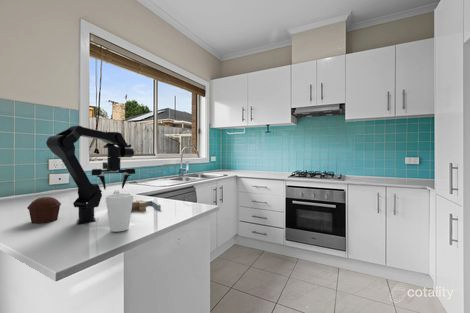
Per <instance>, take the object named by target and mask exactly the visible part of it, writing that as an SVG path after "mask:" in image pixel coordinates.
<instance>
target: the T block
mask: <svg viewBox="0 0 470 313" xmlns="http://www.w3.org/2000/svg"><path fill="white" fill-rule="evenodd" d="M144 201H145V200H143V199H137V200H136V201H133V202H132V209H131V212H136V211H139V212H146V211H147V206H146V202H144Z"/></svg>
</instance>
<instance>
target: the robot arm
mask: <svg viewBox="0 0 470 313" xmlns="http://www.w3.org/2000/svg"><path fill="white" fill-rule="evenodd" d="M81 137H84V138H89V139H93V140H100V141H102V142H104V143H105V145H104V146H103V148H104V149H107V150H106V151H107V154H106V155H107V157H106V158H107V161H106V162H105V161H104V162H102V168H92V169H91V171H90V176H96V178H99V179H100V182H101V184H102V186H103V190H105V191H106V187H107V186H106V179H105V175H104V174H108V175H109V174H122V182H121V189H124V187H125V184H126V182H127V180H128V178H129V177H130V176H132V175H136V169H135V168H133V167H125V169H121V159H122V158H133V157H134V154H135V150H134V148H133V147H132V145H131V144H127V142H126V140H125V138H124V136H123V134H122V133H121V132H120V131H104V130H103V131H102V130H99V129H93V128H89V127H84V126H82V125H71V126H70V127H68V128H66V129H65V130H62V131H61V132H59V133H57V134H56V135H50V136H49V137H48V138H47V140H46V142H45V144H46V146H47V148H48V149H49V150H50V151H51V152H52V153H53V155H55V156H57V157H58V158H60V160H61V161H62V163H63V165H64V166H65V168H66V170H67V171H68V174H69V175H70V176H71V178H72V179H73V181H74V183H75V185H76V187H77V195H78V196H77V197H76V199H75V201H74V202H72V204H73V207H74V208H78V219H77V222H76V224H77V225H80V224H88V223H93V222H94V223H95V222H96V217H95V208H99V207H100V202H101V199H102V197H103V193H102V192H103V190H102V189H101V188H100V186H99V184H96V183H92V182H91V181H90V179H89V177H88V176H87V174H86V171H85V170H84V169H83V166H82V165H81V163H80V161H79V159H78V158H77V156H76V154H75V153H76V146H75V143H76V142H78V141H79V139H80V138H81Z"/></svg>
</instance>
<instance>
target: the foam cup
mask: <svg viewBox="0 0 470 313" xmlns="http://www.w3.org/2000/svg"><path fill="white" fill-rule="evenodd" d="M132 202H134V194H133V193H129V192H128V193H119V194H114V193H112V194H107V195H105V203H106V210H107V216H108V223H109V228H110V232H116V233H117V232H124V231H126V230H128V229H129V227H130V222H131V215H132V211H131V209H132Z"/></svg>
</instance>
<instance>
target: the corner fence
mask: <svg viewBox="0 0 470 313" xmlns="http://www.w3.org/2000/svg"><path fill="white" fill-rule="evenodd" d="M143 201H144V202H146V207H147V206H151V207H153V208H154V209H156V210H157V211H158V212H159V211H161V209H162V208H161V206H162V204H159V203H158V202H156V201H155V200H152V199H150V200H143Z"/></svg>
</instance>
